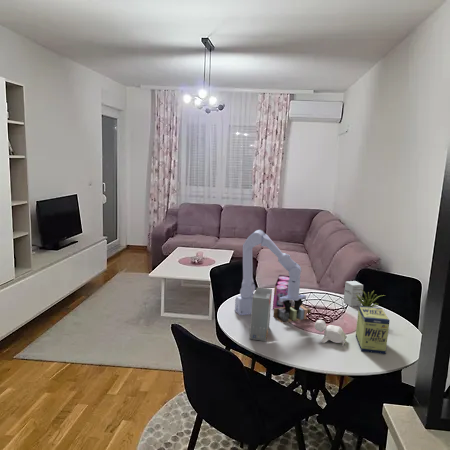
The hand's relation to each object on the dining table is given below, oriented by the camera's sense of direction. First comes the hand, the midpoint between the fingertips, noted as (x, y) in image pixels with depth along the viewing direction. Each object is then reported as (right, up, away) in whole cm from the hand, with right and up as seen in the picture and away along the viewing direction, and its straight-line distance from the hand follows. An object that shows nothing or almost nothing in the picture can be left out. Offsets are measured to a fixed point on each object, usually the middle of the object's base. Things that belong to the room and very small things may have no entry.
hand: (291, 313), depth 210 cm
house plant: (+40, -5, +4) cm, 41 cm away
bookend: (-5, -3, -1) cm, 5 cm away
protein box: (+31, -9, -24) cm, 41 cm away
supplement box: (+39, 0, +27) cm, 48 cm away
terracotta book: (+6, -2, +3) cm, 7 cm away
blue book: (+4, -2, +2) cm, 5 cm away
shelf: (0, -3, +1) cm, 3 cm away
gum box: (-2, +1, +22) cm, 22 cm away
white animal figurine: (+14, -8, -21) cm, 27 cm away
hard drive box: (-18, -6, -18) cm, 26 cm away
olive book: (0, -2, 0) cm, 2 cm away
